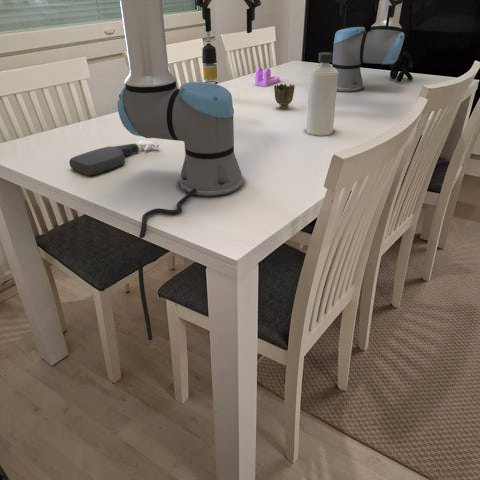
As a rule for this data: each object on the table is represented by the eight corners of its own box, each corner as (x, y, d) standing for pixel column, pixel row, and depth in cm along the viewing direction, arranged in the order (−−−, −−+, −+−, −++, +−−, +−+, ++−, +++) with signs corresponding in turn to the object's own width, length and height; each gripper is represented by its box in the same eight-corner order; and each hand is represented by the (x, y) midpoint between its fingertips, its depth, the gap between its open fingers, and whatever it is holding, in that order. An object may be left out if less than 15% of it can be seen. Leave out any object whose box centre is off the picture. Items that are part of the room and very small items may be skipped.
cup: (270, 109, 164) (270, 87, 160) (278, 104, 169) (278, 82, 165) (289, 111, 161) (290, 89, 157) (296, 106, 166) (297, 84, 162)
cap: (321, 63, 130) (321, 54, 128) (316, 61, 133) (316, 52, 132) (333, 62, 130) (334, 54, 129) (328, 60, 134) (329, 51, 132)
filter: (220, 99, 177) (217, 15, 161) (206, 100, 176) (202, 16, 160) (215, 96, 182) (212, 14, 166) (202, 97, 180) (197, 14, 164)
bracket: (265, 86, 195) (266, 69, 191) (255, 84, 197) (255, 68, 194) (281, 80, 203) (282, 64, 200) (271, 79, 206) (271, 63, 203)
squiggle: (400, 92, 202) (376, 71, 205) (417, 76, 202) (392, 56, 205) (405, 81, 191) (380, 59, 194) (423, 64, 191) (397, 42, 194)
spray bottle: (67, 168, 120) (139, 144, 136) (91, 178, 114) (163, 151, 130) (65, 157, 118) (137, 134, 134) (89, 167, 112) (162, 142, 128)
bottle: (311, 136, 138) (317, 58, 126) (302, 128, 145) (306, 53, 133) (337, 134, 140) (344, 56, 128) (326, 126, 147) (333, 51, 135)
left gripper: (272, -51, 127) (270, 31, 138) (192, -49, 134) (197, 29, 145) (264, -51, 121) (263, 34, 132) (181, -49, 128) (187, 32, 139)
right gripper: (330, -52, 130) (323, 28, 142) (420, -52, 124) (405, 31, 135) (334, -52, 136) (326, 24, 148) (420, -52, 130) (405, 28, 141)
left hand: (228, 32), depth 139 cm, fingers open, 13 cm apart
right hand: (364, 28), depth 142 cm, fingers open, 13 cm apart
